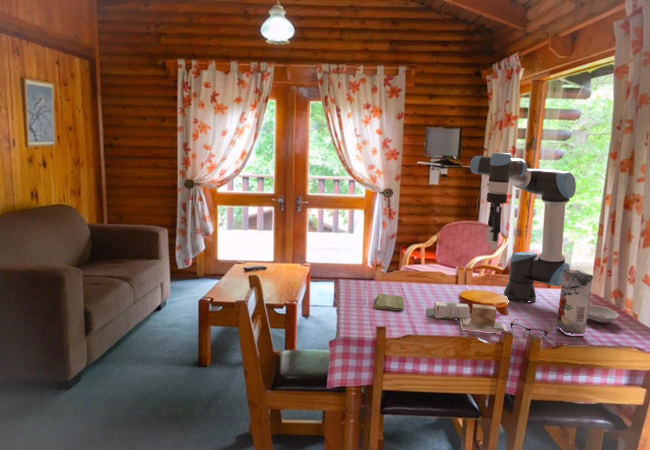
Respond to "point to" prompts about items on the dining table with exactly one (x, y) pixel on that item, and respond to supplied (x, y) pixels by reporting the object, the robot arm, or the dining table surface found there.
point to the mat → (430, 313)
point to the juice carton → (574, 301)
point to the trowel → (483, 318)
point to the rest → (481, 329)
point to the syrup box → (451, 310)
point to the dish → (601, 313)
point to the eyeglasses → (527, 328)
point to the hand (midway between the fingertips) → (491, 245)
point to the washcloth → (389, 302)
